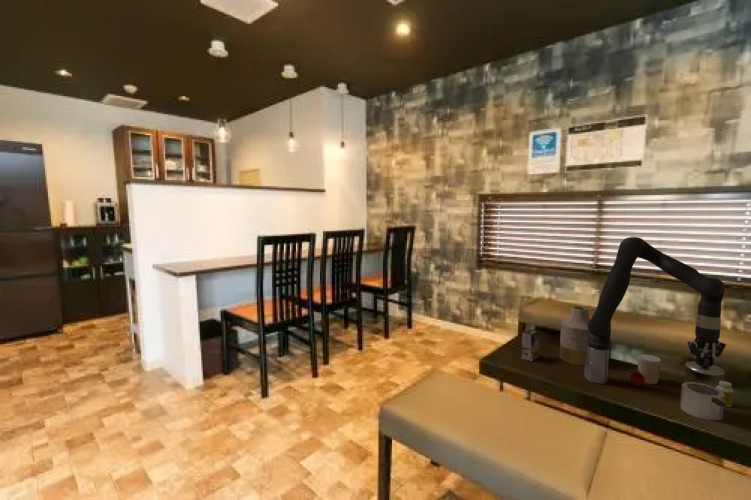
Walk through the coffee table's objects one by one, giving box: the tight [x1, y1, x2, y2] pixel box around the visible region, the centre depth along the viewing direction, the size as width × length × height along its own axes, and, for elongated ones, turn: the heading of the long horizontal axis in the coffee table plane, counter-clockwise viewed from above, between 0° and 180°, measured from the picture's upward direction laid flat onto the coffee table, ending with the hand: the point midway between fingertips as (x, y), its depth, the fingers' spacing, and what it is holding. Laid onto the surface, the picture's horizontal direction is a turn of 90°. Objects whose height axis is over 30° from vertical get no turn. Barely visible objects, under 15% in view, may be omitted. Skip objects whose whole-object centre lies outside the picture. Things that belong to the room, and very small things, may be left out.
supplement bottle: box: [715, 380, 734, 408], centre depth 156 cm, size 5×5×10 cm
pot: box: [679, 380, 727, 422], centre depth 150 cm, size 19×13×10 cm
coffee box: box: [520, 328, 540, 362], centre depth 207 cm, size 9×6×16 cm
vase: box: [559, 305, 591, 367], centre depth 204 cm, size 18×18×30 cm
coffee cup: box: [637, 353, 662, 385], centre depth 178 cm, size 9×9×12 cm
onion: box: [629, 369, 645, 387], centre depth 173 cm, size 6×6×8 cm
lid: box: [685, 352, 725, 377], centre depth 148 cm, size 12×12×7 cm
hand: (704, 365), depth 148 cm, fingers closed on lid, 3 cm apart
